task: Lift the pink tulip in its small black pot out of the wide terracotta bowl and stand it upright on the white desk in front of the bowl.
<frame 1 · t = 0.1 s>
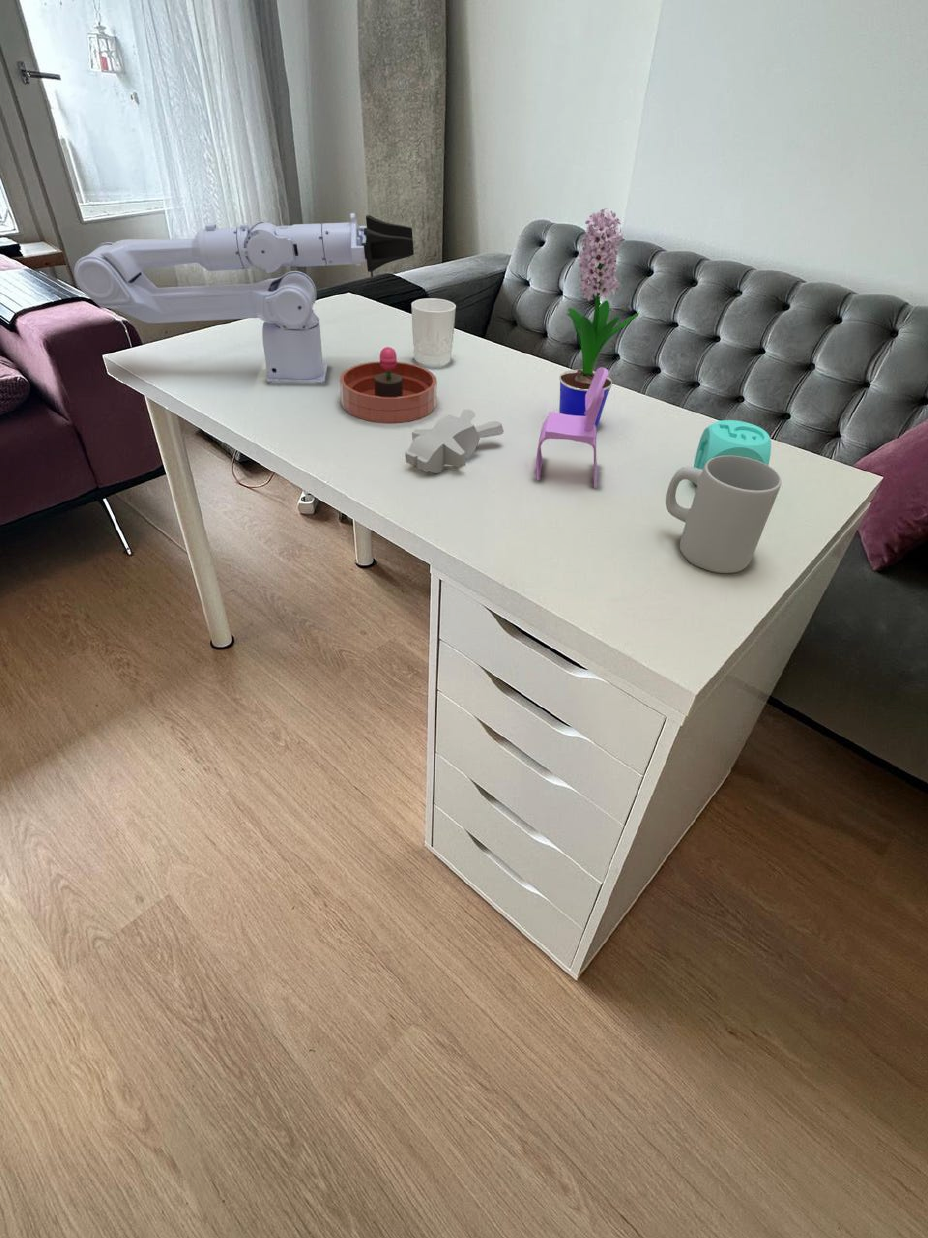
hand: (412, 240, 105), 22 cm above the table, tool horizontal, fingers open, 7 cm apart
mug: (700, 548, 83), on the table
toy chair: (565, 474, 95), on the table
tulip: (389, 402, 109), point 1 cm above the table, touching bowl
white cup: (432, 362, 125), on the table
hyacinth: (582, 425, 108), on the table
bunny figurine: (451, 457, 98), on the table
bowl: (389, 405, 109), on the table
decorative dice: (721, 486, 95), on the table
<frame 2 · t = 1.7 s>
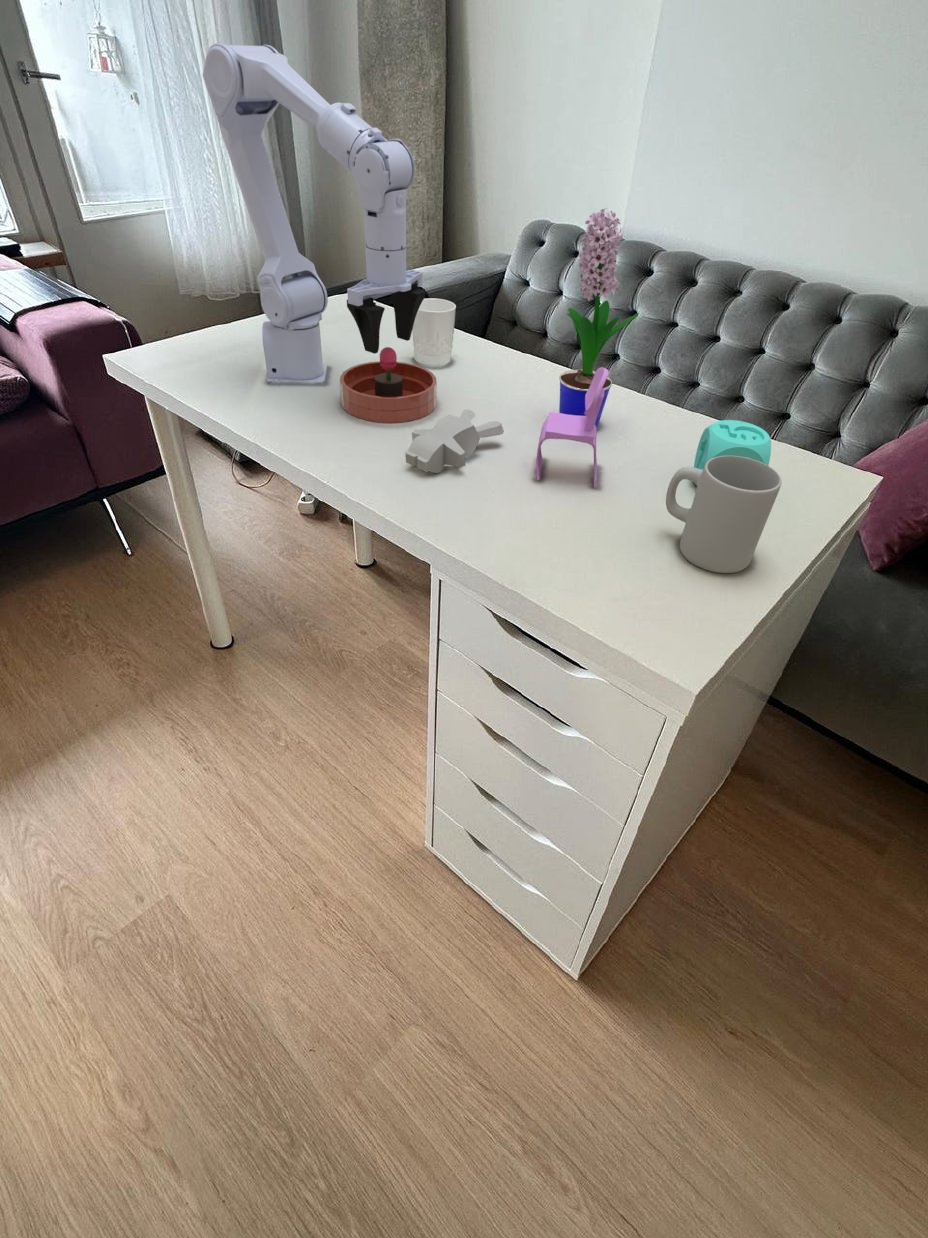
hand: (387, 344, 103), 10 cm above the table, tool pointing down, fingers open, 7 cm apart
nothing on the table moved.
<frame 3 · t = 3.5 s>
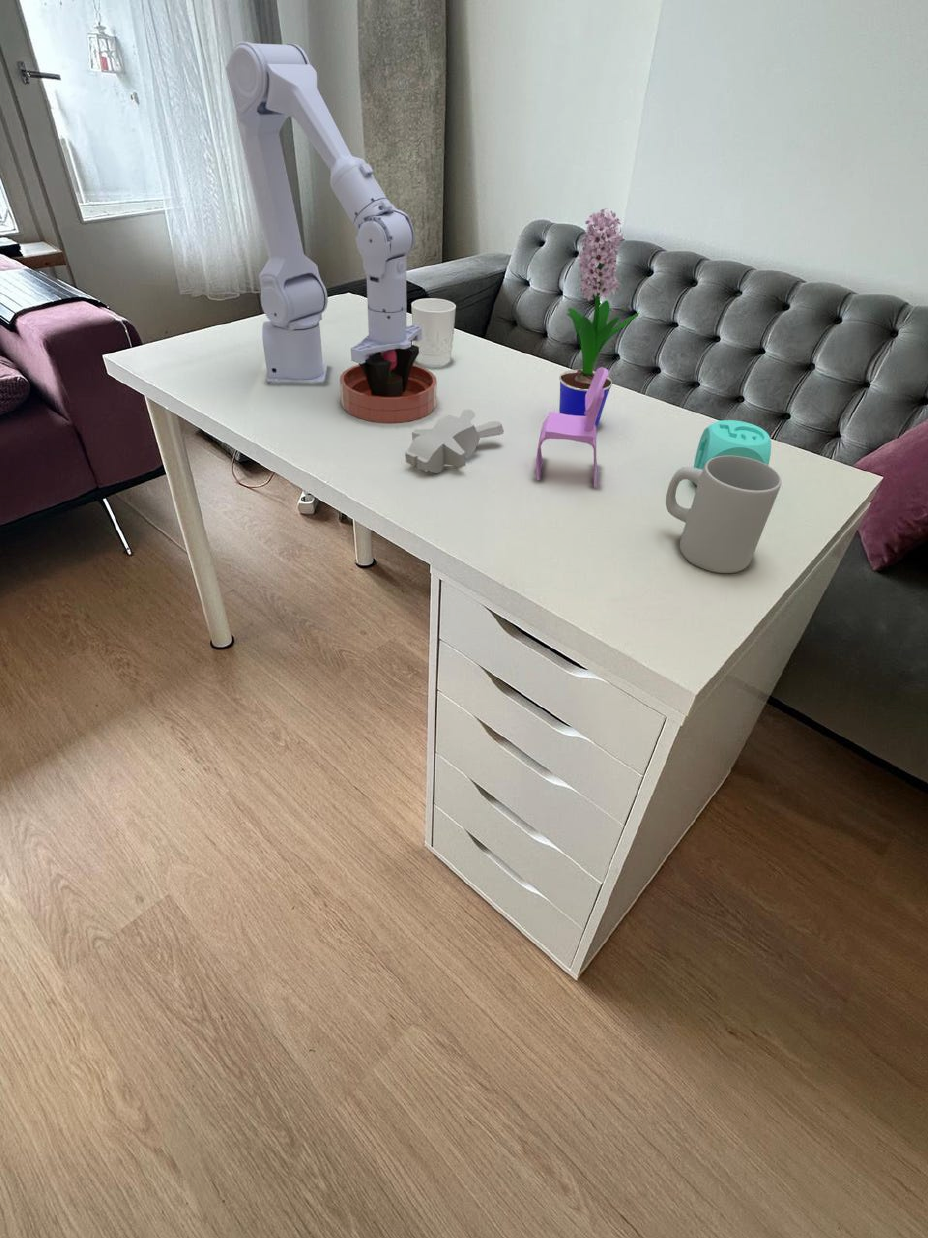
hand: (388, 395, 108), 2 cm above the table, tool pointing down, fingers closed on tulip, 4 cm apart
tulip: (389, 402, 109), point 1 cm above the table, touching bowl, gripper
everything else where it was.
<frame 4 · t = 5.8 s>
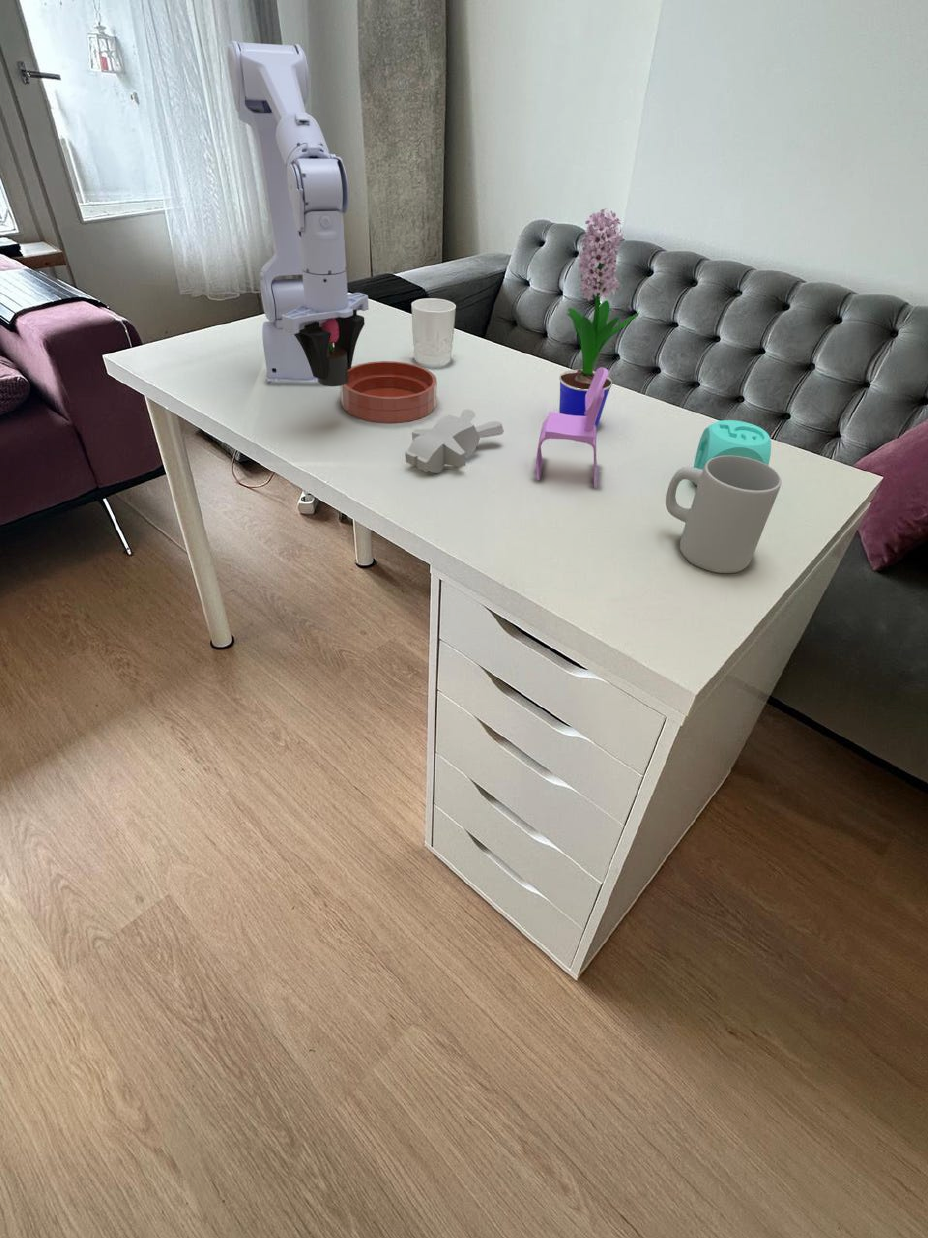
hand: (332, 372, 96), 9 cm above the table, tool pointing down, fingers closed on tulip, 4 cm apart
tulip: (333, 380, 97), point 8 cm above the table, touching gripper
everything else where it was.
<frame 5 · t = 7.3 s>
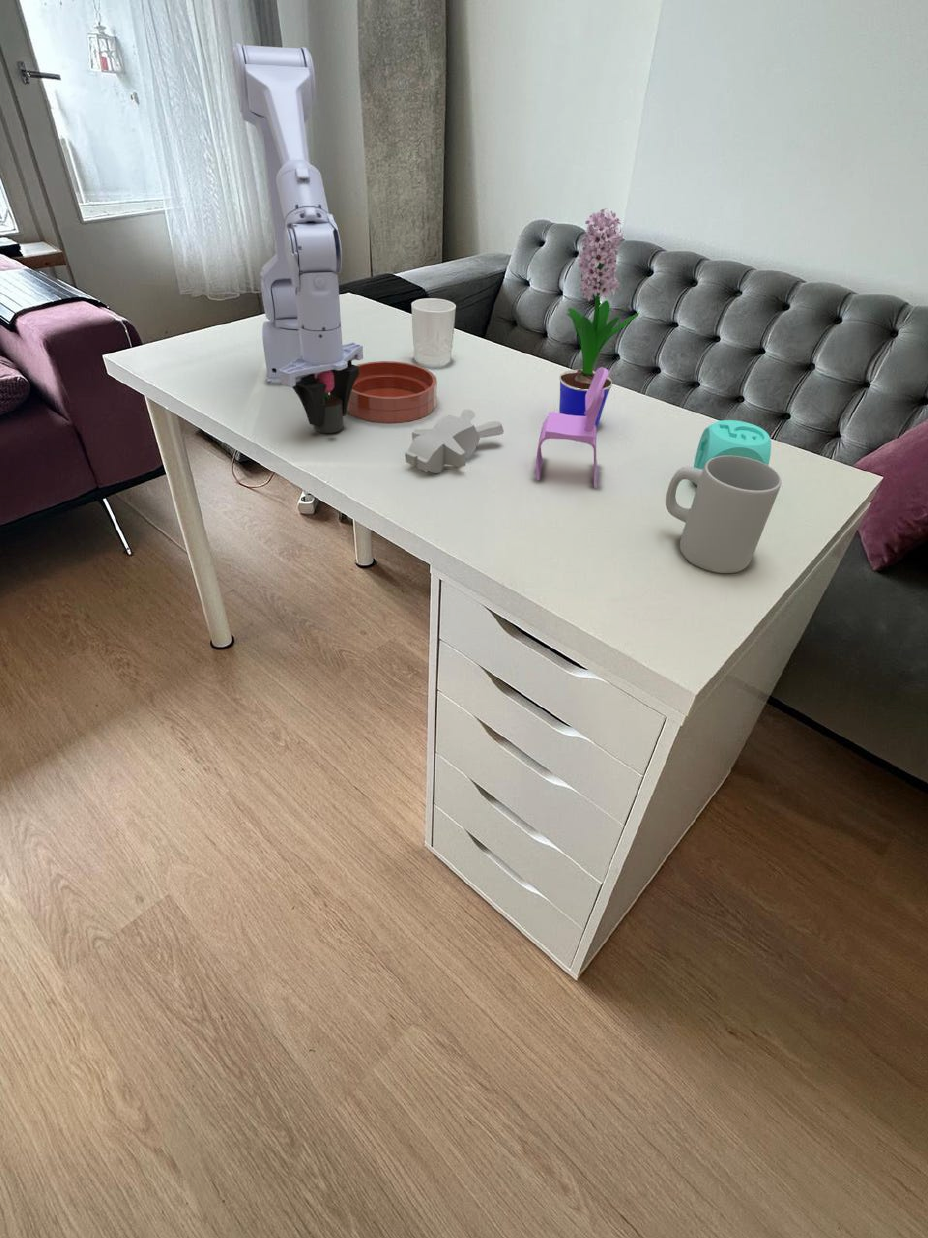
hand: (327, 419, 100), 2 cm above the table, tool pointing down, fingers closed on tulip, 4 cm apart
tulip: (328, 426, 100), point 1 cm above the table, touching gripper
everything else where it was.
when the fingers open (1 cm above the table, at t = 8.1 s): tulip stays where it is, on the table.
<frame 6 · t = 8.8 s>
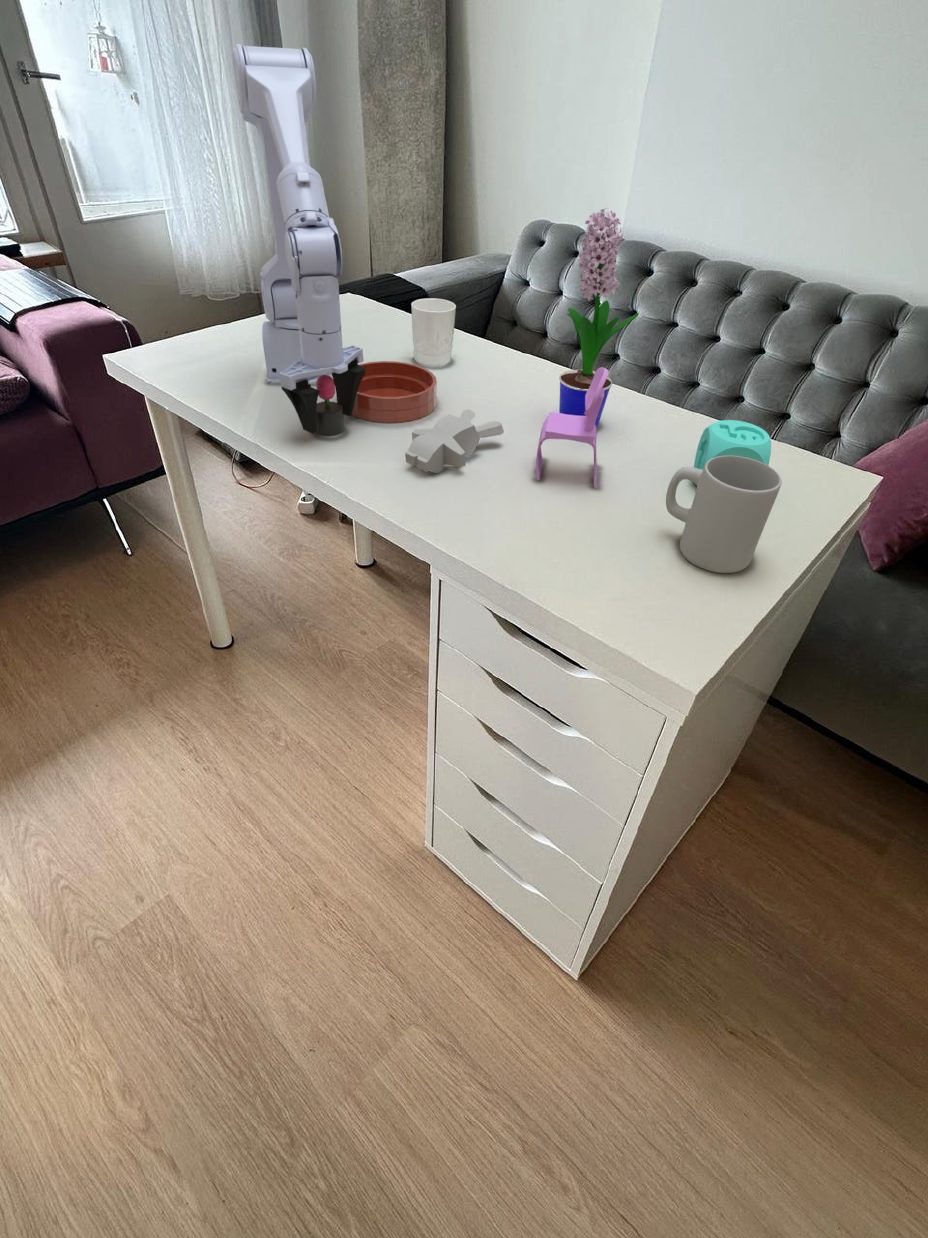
hand: (328, 421, 100), 2 cm above the table, tool pointing down, fingers open, 7 cm apart
tulip: (329, 432, 101), on the table
everything else where it was.
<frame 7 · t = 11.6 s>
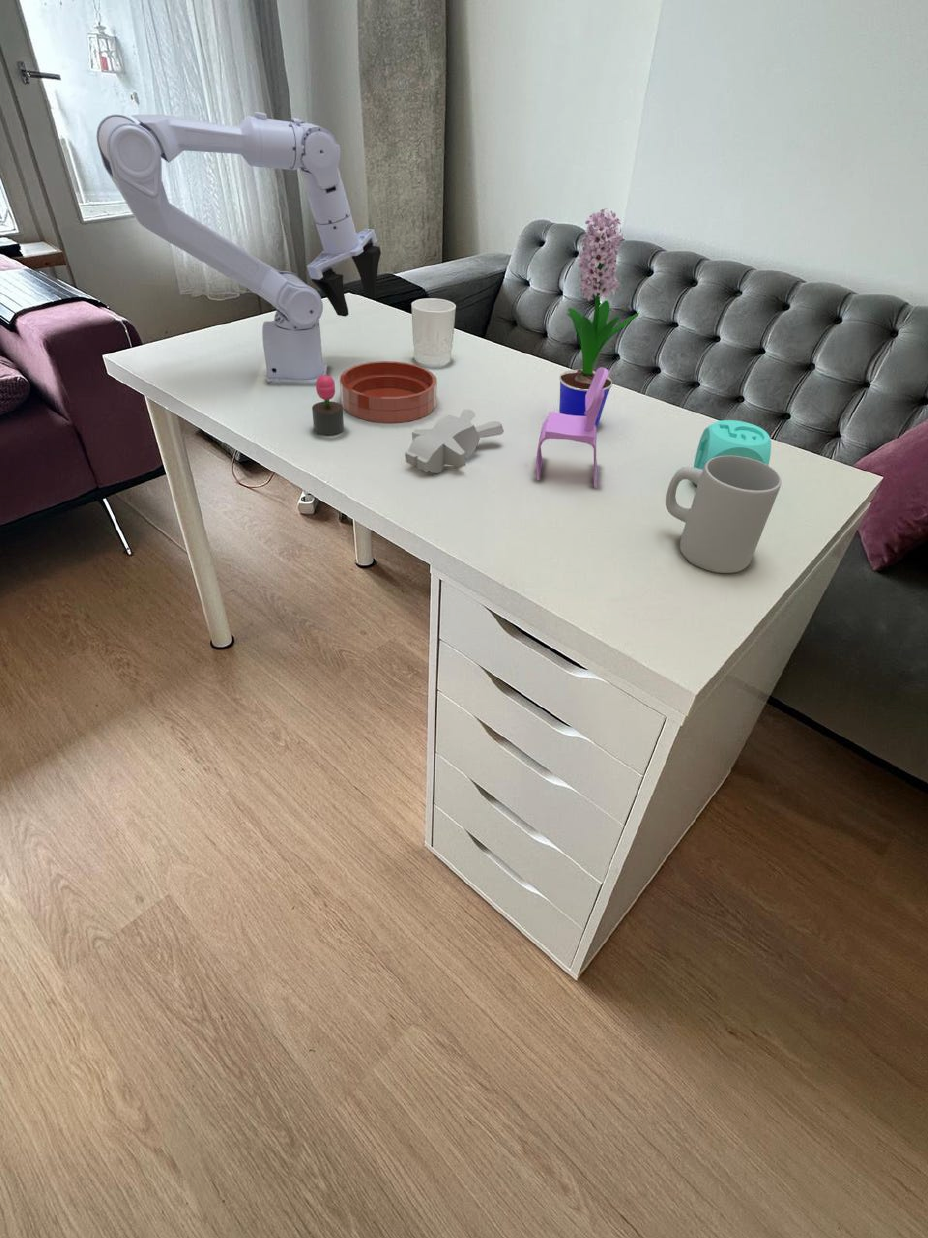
hand: (357, 304, 114), 11 cm above the table, tool pointing down, fingers open, 7 cm apart
nothing on the table moved.
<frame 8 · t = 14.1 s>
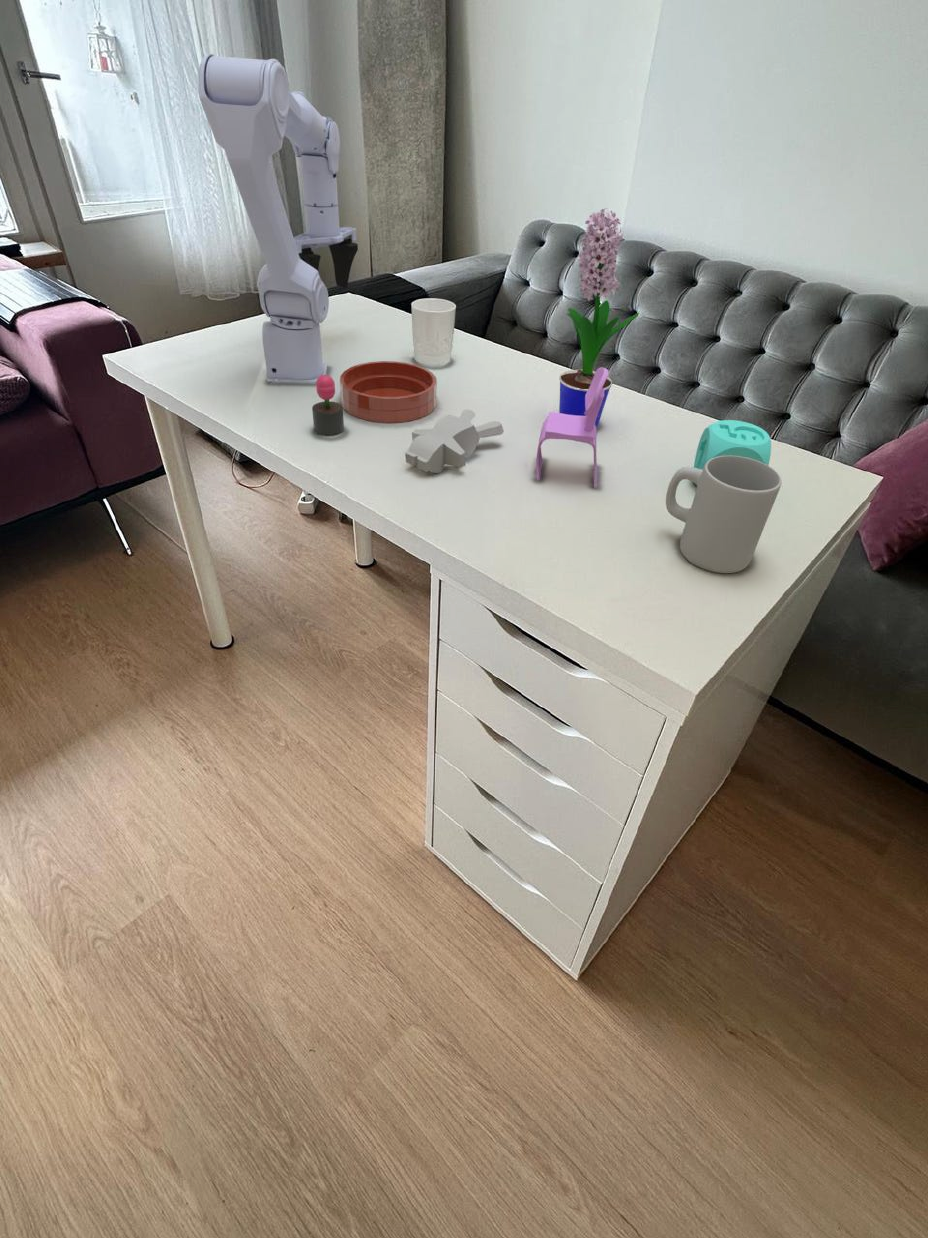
hand: (327, 290, 122), 10 cm above the table, tool pointing down, fingers open, 7 cm apart
nothing on the table moved.
at the end: tulip inside the target area (0.1 cm from its centre), on the table; tulip tilted 0°; tulip touching table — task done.
